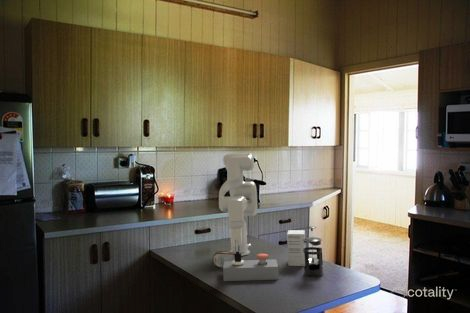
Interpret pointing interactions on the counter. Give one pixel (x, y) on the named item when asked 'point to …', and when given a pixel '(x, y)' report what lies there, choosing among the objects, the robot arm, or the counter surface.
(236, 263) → the white button
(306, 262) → the french press
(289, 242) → the supplement box
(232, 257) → the tin
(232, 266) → the console
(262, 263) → the red button
